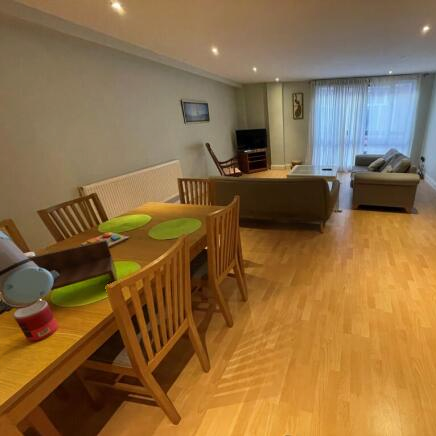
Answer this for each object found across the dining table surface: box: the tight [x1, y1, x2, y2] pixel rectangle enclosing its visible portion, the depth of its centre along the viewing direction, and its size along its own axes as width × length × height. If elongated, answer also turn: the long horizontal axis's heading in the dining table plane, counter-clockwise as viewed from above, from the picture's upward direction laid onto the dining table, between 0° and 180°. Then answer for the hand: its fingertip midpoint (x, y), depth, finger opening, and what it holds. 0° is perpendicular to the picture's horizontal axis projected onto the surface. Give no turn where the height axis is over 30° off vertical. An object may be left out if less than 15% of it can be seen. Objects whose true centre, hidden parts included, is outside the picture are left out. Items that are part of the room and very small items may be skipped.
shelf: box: [28, 240, 118, 292], centre depth 102 cm, size 28×16×17 cm, turn 126°
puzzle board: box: [80, 231, 130, 248], centre depth 146 cm, size 18×19×4 cm
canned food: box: [13, 299, 59, 343], centre depth 82 cm, size 8×8×11 cm
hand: (16, 300), depth 74 cm, fingers open, 13 cm apart
